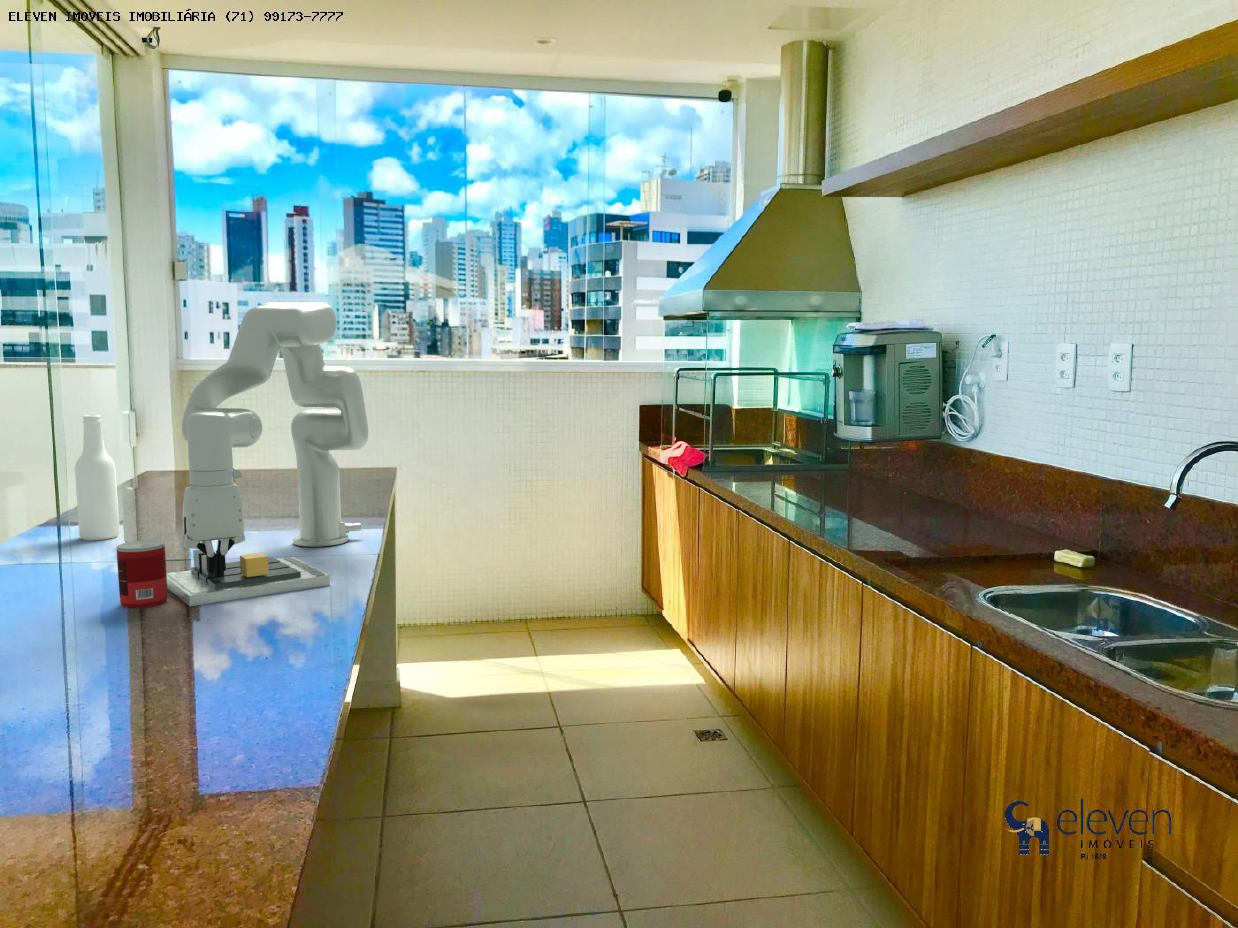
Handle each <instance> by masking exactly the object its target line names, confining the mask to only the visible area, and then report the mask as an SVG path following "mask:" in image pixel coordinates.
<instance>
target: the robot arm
mask: <svg viewBox="0 0 1238 928" xmlns="http://www.w3.org/2000/svg"><path fill="white" fill-rule="evenodd" d="M336 330H337V316H336V313H335V311H334V310H333V308H332V307H331V306H330V305H329V304H327V303H326V302H315V301H314V302H311V301H307V302H302V301H301V302H298V301H297V302H293V301H292V302H291V301H276V302H275V301H273V302H272V301H271V302H266V303H262V304H260V305H257V306H254V307H251V308H250V309H248V310H247V311H246V312H245V314H244V315H243V317H242V319H241V323H240V325H239V328H238V331H237V334H236V336H235V340H234V342H233V346H232V348H231V350H230V354H229V357H228V359H227V361H226V362H225V363H224V364H221V366H219V367H217V368H216V369H214V370H213V371H212V372H211V373H209V374H208V375H207V376H206V377H205V378H204V379H202V380H201V381H200V382H199V383H198V384H197V385H196V386H195V388H194V389H193V390H192V393H191V394H190V396H189V399H188V402H187V405H186V407H185V410H184V412H183V417H182V421H181V432H182V437H183V438H184V440H185V441H186V442H187V453H188V454H187V455H188V457H187V458H188V473H189V475H188V476H189V486H185V487H184V491H183V492H184V493H183V501H182V502H183V503H182V504H183V505H182V535H183V536H184V541H183V546H184V547H185V548H187V549H191V550H193V549H194V550H200V551H202V552H203V553H204V554H205V555H206V561H207V572H208V573H210V575H211V576H212V577H214V578H217V577H218V576H219V577H223V571H226V563H227V562H226V555H227V554H228V552H229V551H230V550H231V549H232V547H233V546H234V545H237V544H241V543H243V542H245V541H246V537H245V533H244V532H245V518H244V510H243V504H242V498H241V493H240V490H239V489H240V488H239V486H238V484H236V483H235V481H236V479H239V478H241V477H242V471H241V470H237V469H235V468H234V464H233V463H234V462H233V460H234V459H233V448H236V449H239V448H242V449H243V448H249V447H252V446H253V445H254V444H255V445H256V443H257V442H258V441H259V439H260V438H261V436H262V433H263V424H262V420H261V418H260V416H259V415H258V414H257V413H256V412H254V411H253V410H250V409H249V408H248V409H247V408H238V407H237V408H236V407H234V408H232V407H231V408H228V407H220V408H219V407H218V406H219V405H220V404H222V403H223V402H224V401H225V400H228V399H229V398H231V397H234V396H236V395H239V394H241V393H245V392H247V391H250V390H252V389H254V388H256V387H259V386H261V385H263V384H265V383H266V382H267V381H269V380H270V377H271V375H272V372H273V369H274V367H275V363H276V361H277V356H278V353H279V351H280V353H281V355H282V358H283V362H284V367H285V372H286V377H287V383H288V387H289V393H290V396H291V398H292V400H293V402H294V404H295V405H297V406H298V407H300V408H301V407H302V408H308V409H305V410H303V411H300V412H298V413H297V414H295V416H294V417H293V418H292V420H291V425H290V430H291V437H292V442H293V446H294V451H295V457H296V468H297V469H296V470H297V472H296V473H297V493H298V494H297V495H298V512H299V513H298V516H299V518H298V519H299V535H298V536H295V537H294V538H293V539H292V540H293V543H292V544H294V545H296V546H300V547H307V548H308V547H309V548H311V547H312V548H313V547H330V546H338V545H341V544H344V543H347V542H348V541H349V535H348V534H349V532H359V531H361V530H362V524H361V522H353V523H352V522H345V521H342V514H341V513H342V510H341V509H342V508H341V484H340V483H341V482H340V481H341V479H340V477H341V475H340V467H339V464H338V463H337V462H338V461H336V459H335V458H334V456H333V455H332V453H330V451H356V450H357V451H358V450H361V449H362V448H364V447H365V446H366V445H367V443H368V440H369V426H368V425H369V423H368V416H367V411H366V405H365V398H364V394H363V393H364V392H363V388H362V382H361V379H360V377H359V374H358V373H357V372H356V371H355V370H354V369H353V368H351V367H348V366H328V365H326V363H325V362H324V357H323V352H322V347H321V345H320V344H324V343H326V342H328V341H330V340H331V339H332V338H333V336H334V335H335V333H336ZM311 408H312V409H311ZM313 408H315V409H313ZM213 541H217V544H216V545H217V546H216V550H214V546H213ZM214 552H215V553H214Z"/></svg>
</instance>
